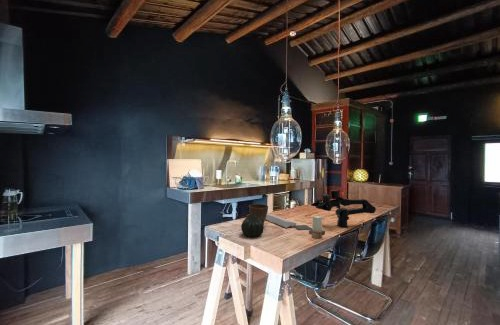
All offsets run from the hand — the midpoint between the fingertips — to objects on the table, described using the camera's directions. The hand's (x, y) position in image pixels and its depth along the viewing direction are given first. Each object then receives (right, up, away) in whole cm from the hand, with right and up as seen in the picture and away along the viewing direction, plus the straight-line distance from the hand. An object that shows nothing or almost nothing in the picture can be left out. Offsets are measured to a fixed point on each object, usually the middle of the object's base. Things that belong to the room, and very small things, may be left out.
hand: (313, 206), depth 192 cm
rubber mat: (-9, -17, -2) cm, 19 cm away
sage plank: (-2, -17, -16) cm, 23 cm away
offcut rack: (-2, -17, -16) cm, 23 cm away
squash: (-48, -16, -23) cm, 56 cm away
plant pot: (-43, -16, -2) cm, 46 cm away
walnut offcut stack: (-4, -17, -24) cm, 30 cm away
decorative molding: (-26, -15, +12) cm, 33 cm away
